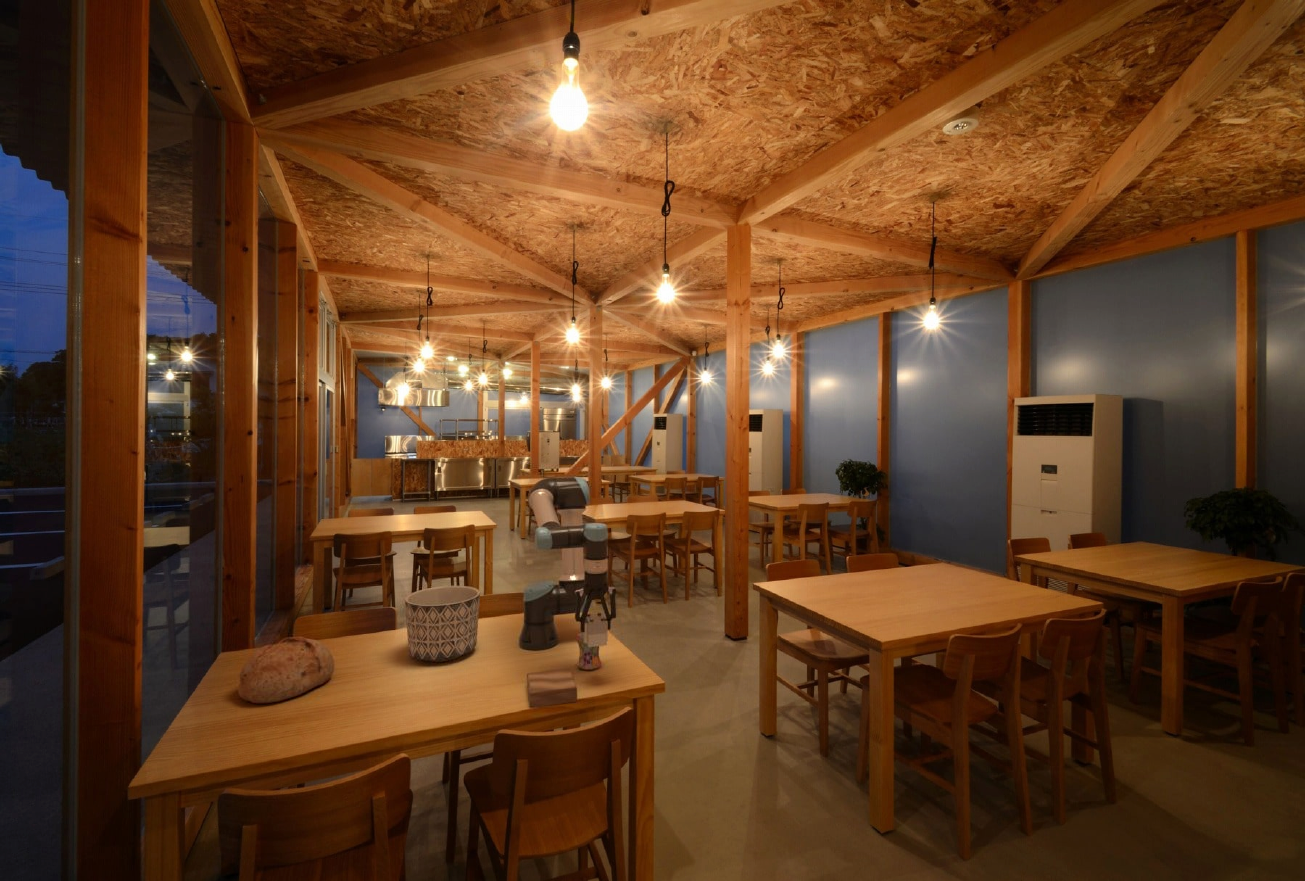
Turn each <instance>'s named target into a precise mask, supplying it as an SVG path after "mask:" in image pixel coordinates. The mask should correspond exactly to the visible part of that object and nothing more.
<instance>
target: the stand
mask: <svg viewBox="0 0 1305 881" xmlns="http://www.w3.org/2000/svg"><path fill="white" fill-rule="evenodd" d="M526 690H527V696H528V703H529V708H530V709H531V708H532V709H533V708H538V707H543V706H544V707H545V706H546V707H547V706H552V705H560V704H568V703H577V702H578V687H577V684H576V681H575V678H574V676H573V673H572V670H571V668H561V669H552V670H551V669H550V670H543V671H536V672H527V673H526Z"/></svg>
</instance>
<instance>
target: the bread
mask: <svg viewBox="0 0 1305 881" xmlns="http://www.w3.org/2000/svg"><path fill="white" fill-rule="evenodd" d="M335 666H336V665H335V660H334V657H333V655H332V653H331V651H330V650H329V648H328V647H326V646H325V645H324V643H322V642H320V641H319V640H316V639H311V638H307V637H304V636H292V637H291V636H289V637H288V636H287V637H284V638H282V639H281V640H279V641H278V642H277V643H276V644H271V643H270V644H266V645H264V646H262V647H261V648H260V649H258V650H256V651H255V652H254V653H253V654H252V655H251V656H250V657H249V658H248V659H247V660H246V661H245V663H244V665H243V666H242V668H241V670H240V673H239V684H238V688H237V692H238V693H237V694H238V696H239V697H240V698H241V699H243V701H245V702H250V703H253V704H272V703H273V704H274V703H278V702H283V701H285V700H288V699H292V698H294V697H298V696H300V695H302V694H304V693H306V692H308V691H309V690H310V691H311V690H312V689H314V688H315V687H318V686H320V685H324V684H325V683H326V682H327V681H329V680H330V679H331V677H332V676H333V674H334V671H335Z"/></svg>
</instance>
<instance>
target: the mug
mask: <svg viewBox="0 0 1305 881" xmlns="http://www.w3.org/2000/svg"><path fill="white" fill-rule="evenodd" d="M575 639H576V641H577V644H578V649H579V657H578V661H577V663H576V665H577V668H579V669H580V670H588V671H589V670H590V671H591V670H595V669H598V668H600V667H601V665H602V662H601V659H600V652H599V651H600V646H595V647H588V645H587V643H585V642H584V632H583V633H582V632H581V633H578V634H576V636H575Z"/></svg>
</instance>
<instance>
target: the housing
mask: <svg viewBox="0 0 1305 881" xmlns="http://www.w3.org/2000/svg"><path fill="white" fill-rule="evenodd" d="M585 621H586V622H587V645H588V647H595V646H599V647H604V646H608V636H607V620H606V616H605V614H603V612H596V613H588V614H587V617H586V620H585Z"/></svg>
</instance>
